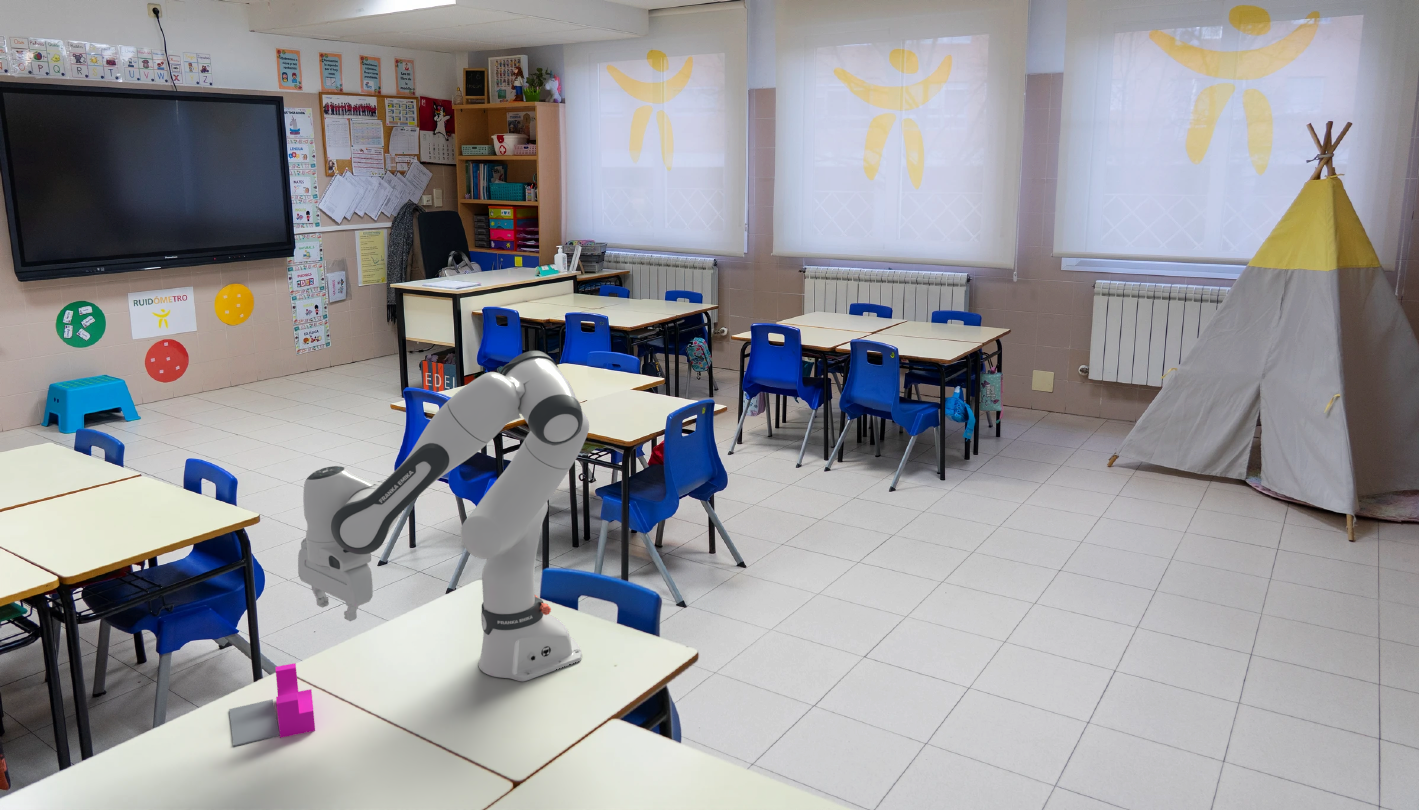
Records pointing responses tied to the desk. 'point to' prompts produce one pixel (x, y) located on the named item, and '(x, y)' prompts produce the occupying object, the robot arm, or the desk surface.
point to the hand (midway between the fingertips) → (336, 612)
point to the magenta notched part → (293, 703)
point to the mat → (253, 722)
